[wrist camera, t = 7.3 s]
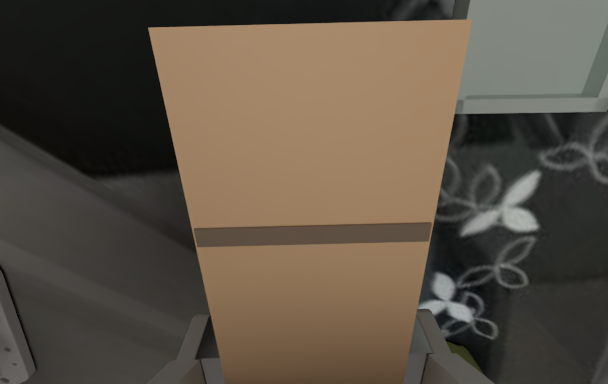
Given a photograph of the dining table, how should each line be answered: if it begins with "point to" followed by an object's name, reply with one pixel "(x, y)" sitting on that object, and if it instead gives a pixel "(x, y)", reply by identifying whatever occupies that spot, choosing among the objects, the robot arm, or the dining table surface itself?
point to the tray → (534, 56)
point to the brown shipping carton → (312, 186)
